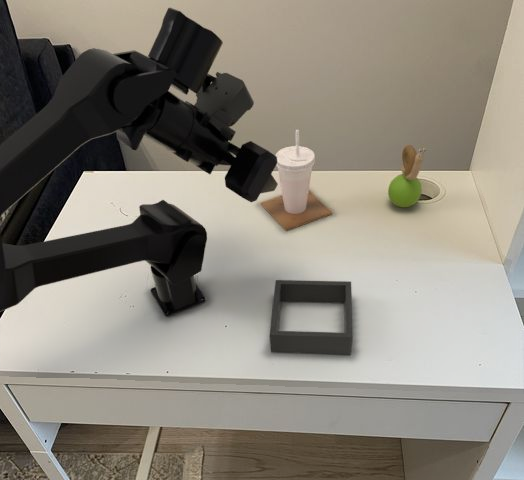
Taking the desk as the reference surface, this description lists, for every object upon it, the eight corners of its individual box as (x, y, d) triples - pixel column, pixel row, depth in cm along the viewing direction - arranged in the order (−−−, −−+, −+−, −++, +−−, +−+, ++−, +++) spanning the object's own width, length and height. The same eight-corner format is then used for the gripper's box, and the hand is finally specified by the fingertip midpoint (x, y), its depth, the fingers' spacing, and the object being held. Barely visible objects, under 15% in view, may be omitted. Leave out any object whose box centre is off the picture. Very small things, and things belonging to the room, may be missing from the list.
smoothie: (297, 223, 91) (297, 144, 80) (269, 209, 94) (264, 131, 83) (321, 205, 94) (324, 127, 83) (292, 192, 97) (291, 115, 86)
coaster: (332, 214, 93) (332, 212, 92) (286, 231, 90) (286, 229, 90) (305, 189, 98) (305, 187, 98) (260, 204, 96) (260, 202, 95)
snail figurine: (395, 219, 91) (405, 152, 82) (381, 198, 95) (390, 132, 86) (426, 214, 91) (440, 146, 82) (411, 193, 95) (423, 127, 86)
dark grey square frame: (349, 299, 79) (351, 281, 76) (350, 355, 72) (352, 337, 69) (276, 297, 80) (275, 279, 77) (270, 352, 73) (269, 334, 70)
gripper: (260, 85, 57) (331, 145, 70) (164, 40, 67) (241, 99, 80) (210, 180, 60) (286, 222, 73) (124, 124, 70) (205, 169, 83)
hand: (254, 174), depth 77 cm, fingers open, 9 cm apart
